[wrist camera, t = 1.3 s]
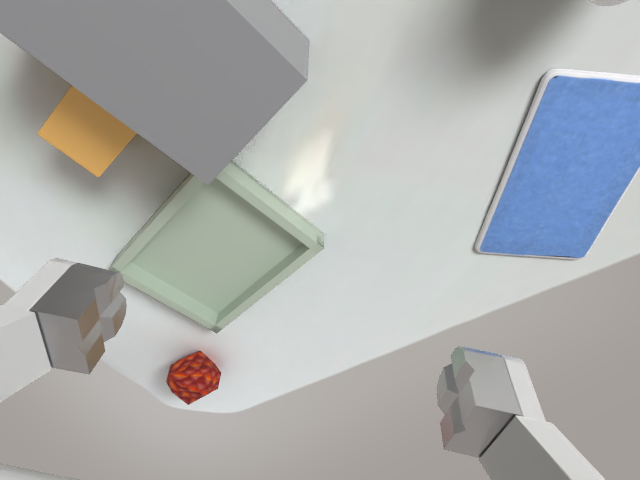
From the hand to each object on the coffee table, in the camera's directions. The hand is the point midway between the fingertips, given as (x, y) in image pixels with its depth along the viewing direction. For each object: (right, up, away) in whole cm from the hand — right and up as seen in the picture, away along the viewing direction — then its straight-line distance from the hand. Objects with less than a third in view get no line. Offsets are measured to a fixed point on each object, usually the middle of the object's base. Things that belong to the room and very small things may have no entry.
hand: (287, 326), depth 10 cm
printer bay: (-9, +19, +21) cm, 30 cm away
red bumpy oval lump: (-16, -14, +47) cm, 52 cm away
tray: (-10, +2, +35) cm, 36 cm away
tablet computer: (+24, +9, +31) cm, 40 cm away
